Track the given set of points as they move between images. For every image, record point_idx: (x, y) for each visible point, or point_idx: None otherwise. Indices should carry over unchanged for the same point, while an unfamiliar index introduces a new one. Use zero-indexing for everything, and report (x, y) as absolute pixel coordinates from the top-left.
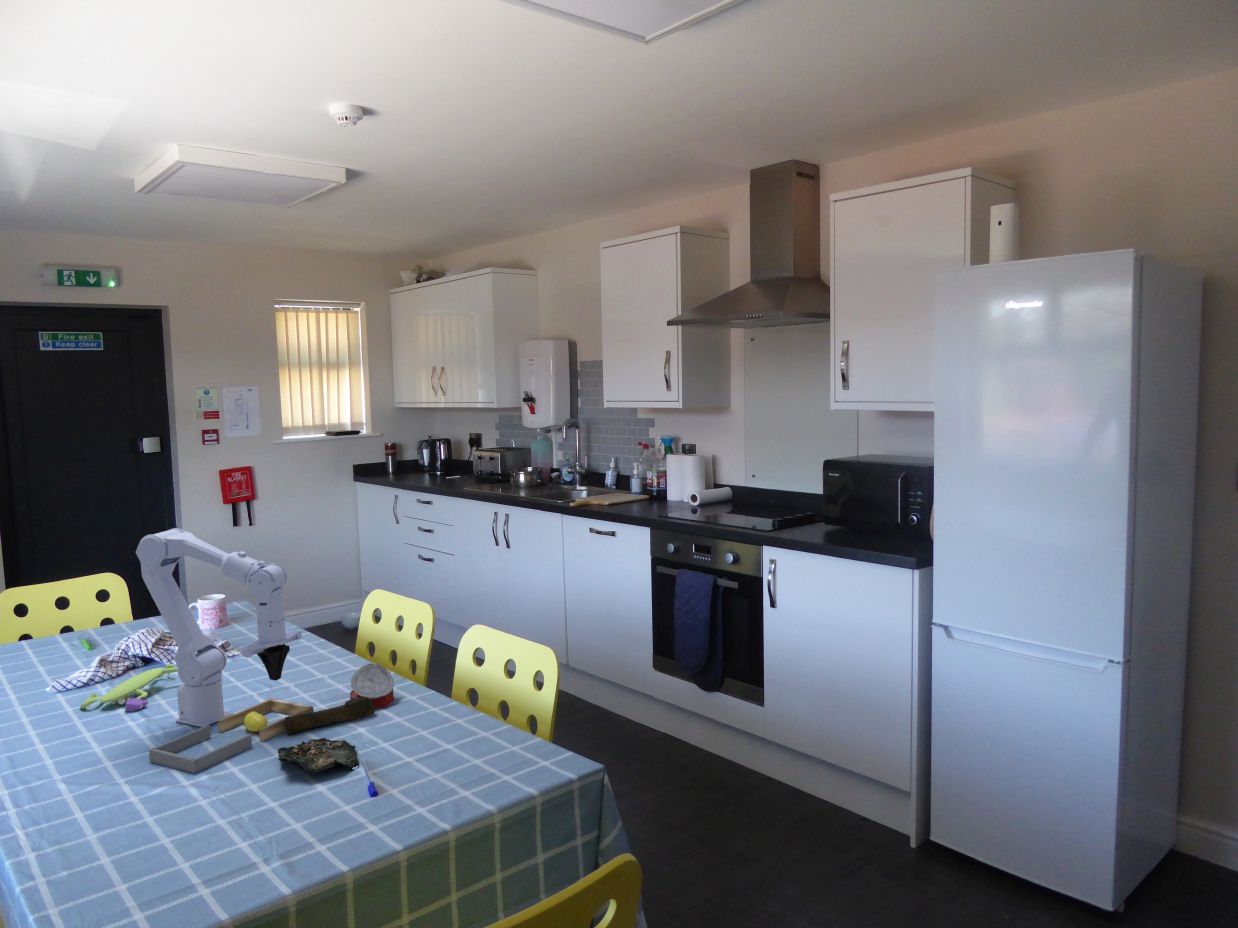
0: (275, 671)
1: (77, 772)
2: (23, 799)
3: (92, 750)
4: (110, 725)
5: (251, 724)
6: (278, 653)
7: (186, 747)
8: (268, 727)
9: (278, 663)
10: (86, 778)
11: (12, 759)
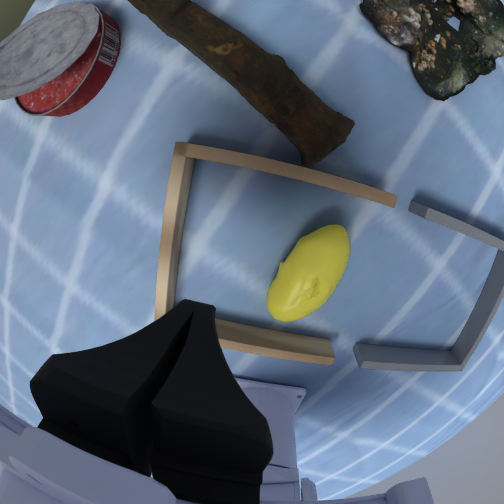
0: (216, 331)
1: (455, 407)
2: (500, 391)
3: (388, 445)
4: (300, 476)
5: (346, 265)
6: (187, 407)
7: (405, 348)
8: (373, 188)
9: (185, 351)
10: (476, 384)
11: (395, 473)
